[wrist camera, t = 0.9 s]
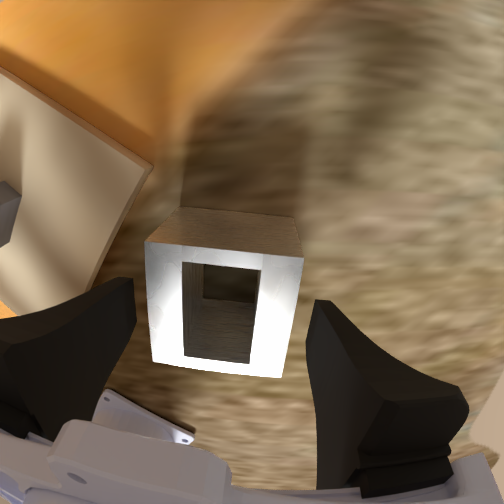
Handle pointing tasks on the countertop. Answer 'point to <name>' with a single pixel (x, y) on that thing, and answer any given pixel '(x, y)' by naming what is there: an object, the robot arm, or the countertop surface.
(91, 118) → the countertop surface
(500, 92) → the countertop surface
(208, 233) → the hollow square tube
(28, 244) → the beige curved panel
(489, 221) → the countertop surface
